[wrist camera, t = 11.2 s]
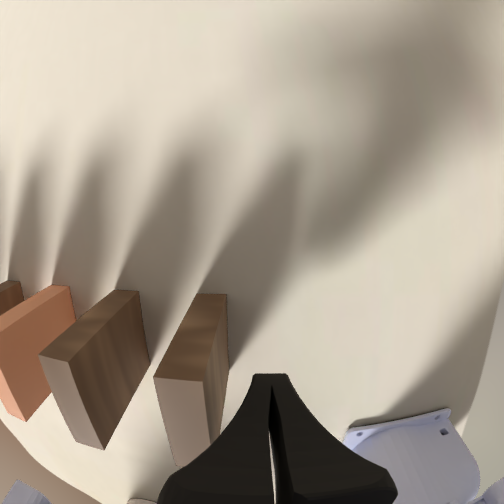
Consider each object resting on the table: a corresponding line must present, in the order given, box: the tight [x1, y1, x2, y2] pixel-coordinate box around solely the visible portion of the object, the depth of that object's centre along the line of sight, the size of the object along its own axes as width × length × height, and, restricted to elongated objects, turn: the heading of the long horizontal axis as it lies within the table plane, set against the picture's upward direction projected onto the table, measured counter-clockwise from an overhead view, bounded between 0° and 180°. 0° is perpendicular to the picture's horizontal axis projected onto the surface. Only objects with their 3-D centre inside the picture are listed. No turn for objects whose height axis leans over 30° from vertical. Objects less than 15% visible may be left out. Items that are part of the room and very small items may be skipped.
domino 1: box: [153, 294, 229, 467], centre depth 13 cm, size 2×5×8 cm, turn 0°
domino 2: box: [38, 290, 150, 450], centre depth 13 cm, size 2×5×8 cm, turn 0°
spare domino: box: [0, 285, 76, 422], centre depth 13 cm, size 2×5×8 cm, turn 0°
